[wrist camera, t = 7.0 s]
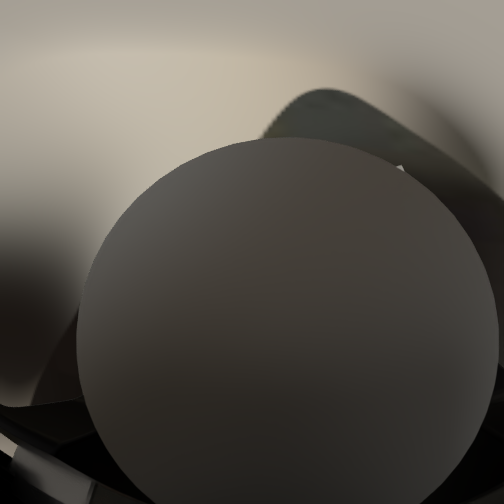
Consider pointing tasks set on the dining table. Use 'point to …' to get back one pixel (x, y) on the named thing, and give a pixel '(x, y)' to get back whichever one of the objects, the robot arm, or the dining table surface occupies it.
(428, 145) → the dining table surface
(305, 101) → the dining table surface
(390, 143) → the dining table surface
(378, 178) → the handle post
